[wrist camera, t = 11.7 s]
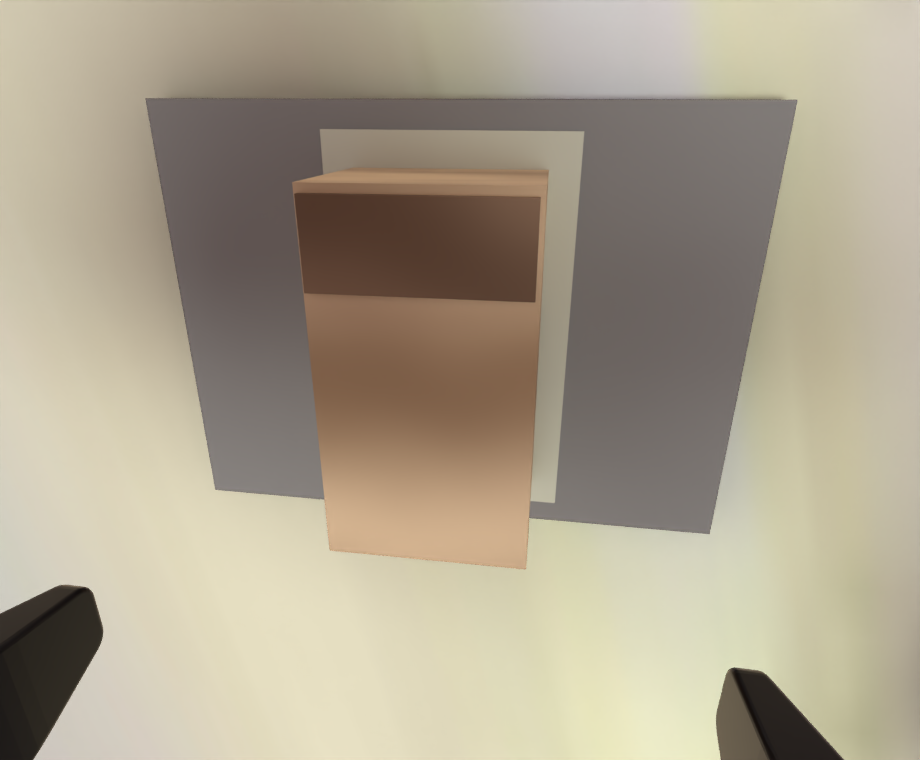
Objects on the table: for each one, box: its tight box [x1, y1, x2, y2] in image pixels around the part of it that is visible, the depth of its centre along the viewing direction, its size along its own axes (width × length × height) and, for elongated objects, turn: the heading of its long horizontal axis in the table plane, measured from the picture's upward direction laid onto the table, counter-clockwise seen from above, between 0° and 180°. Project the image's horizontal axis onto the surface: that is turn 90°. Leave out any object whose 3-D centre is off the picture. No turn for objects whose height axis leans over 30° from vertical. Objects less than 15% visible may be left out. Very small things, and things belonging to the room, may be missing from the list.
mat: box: [145, 98, 797, 534], centre depth 18 cm, size 16×12×1 cm
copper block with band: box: [292, 168, 549, 569], centre depth 15 cm, size 9×5×4 cm, turn 0°
